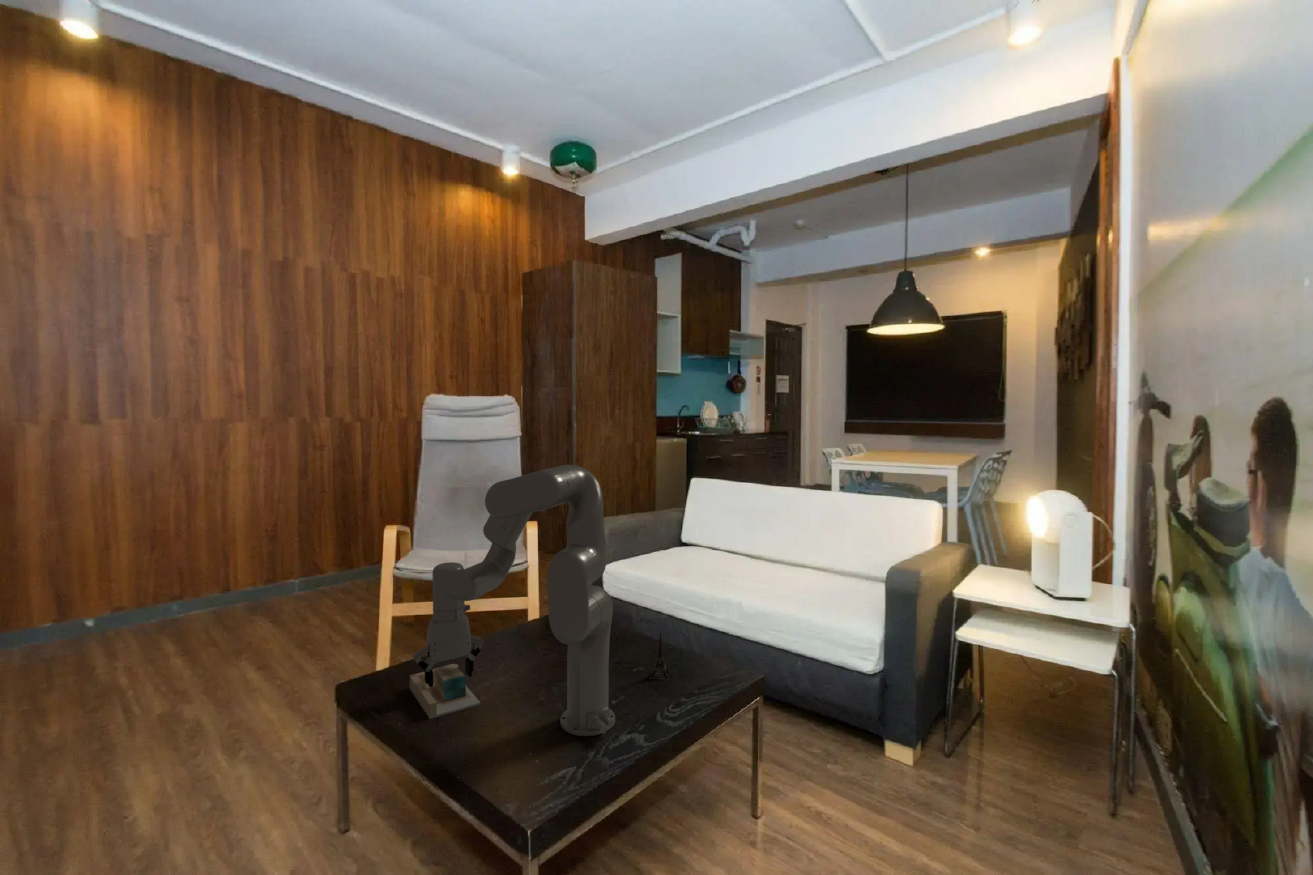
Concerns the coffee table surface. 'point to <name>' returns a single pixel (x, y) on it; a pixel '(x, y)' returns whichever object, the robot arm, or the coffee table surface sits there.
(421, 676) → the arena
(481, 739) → the coffee table surface
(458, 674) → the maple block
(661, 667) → the eiffel tower figurine
